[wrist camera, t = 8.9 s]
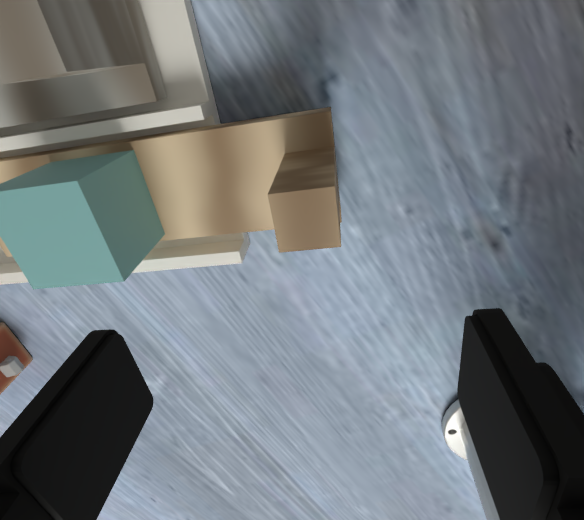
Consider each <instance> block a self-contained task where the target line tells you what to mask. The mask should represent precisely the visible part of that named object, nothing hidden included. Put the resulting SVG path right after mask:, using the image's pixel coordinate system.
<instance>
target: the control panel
mask: <svg viewBox="0 0 584 520" xmlns="http://www.w3.org/2000/svg"><path fill="white" fill-rule="evenodd" d="M32 360H33V358H32V357H31V355H30V354H29V353H28V352H27V350H26V349H25V348H24V347H23V345H22V344H21V343H20V342H19V340H18V339H17V338H16V337H15V335H14V334H13V333H12V332H11V330H10V329H9V328H8V327H7V325H6V324H5V323H3V322H1V323H0V394H1V393H2V392H3V391H4V390H5V389H6V388H7V387H8V386H9V385H10V383H11V382H12V381H13V380H14V379H15V378H16V377H17V376H18V375H19V374H20V373H21V372H22V371H23V370H24V369H25V368H26V366H27V365H28V364H29V363H30V362H31V361H32Z"/></svg>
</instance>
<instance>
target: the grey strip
mask: <svg viewBox="0 0 584 520" xmlns="http://www.w3.org/2000/svg"><path fill="white" fill-rule="evenodd" d="M165 98H167V95H166V91H165V88H164V85H163V82H162V78H161V75H160V72H159V68H158V65H157V62H156V58H155V55H154V52H153V49H152V45H151V42H150V39H149V35H148V32H147V29H146V26H145V22H144V19H143V16H142V12H141V9H140V6H139V3H138V0H0V128H3V127H9V126H15V125H21V124H27V123H33V122H38V121H44V120H50V119H56V118H62V117H68V116H74V115H80V114H85V113H91V112H97V111H103V110H109V109H115V108H121V107H126V106H132V105H138V104H144V103H150V102H156V101H159V100H162V99H165Z"/></svg>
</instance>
